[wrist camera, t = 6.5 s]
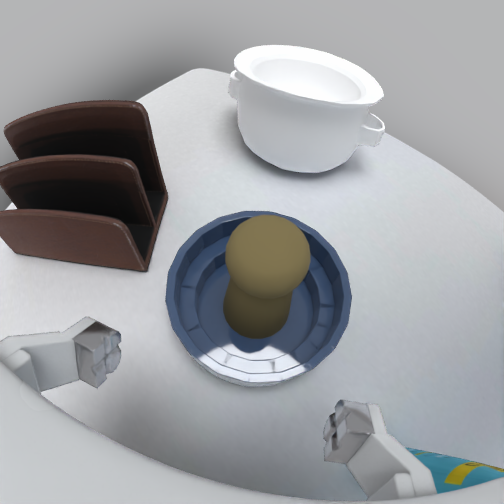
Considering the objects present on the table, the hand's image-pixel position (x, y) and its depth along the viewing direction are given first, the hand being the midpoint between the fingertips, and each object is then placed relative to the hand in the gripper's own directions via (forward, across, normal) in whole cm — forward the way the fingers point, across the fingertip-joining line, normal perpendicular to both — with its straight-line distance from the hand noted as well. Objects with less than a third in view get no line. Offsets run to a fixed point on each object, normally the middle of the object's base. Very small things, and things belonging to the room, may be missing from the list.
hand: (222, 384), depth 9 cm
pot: (+34, +1, -13) cm, 36 cm away
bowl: (+16, 0, +4) cm, 17 cm away
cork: (+16, 0, +4) cm, 17 cm away
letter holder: (+18, +22, +3) cm, 29 cm away
